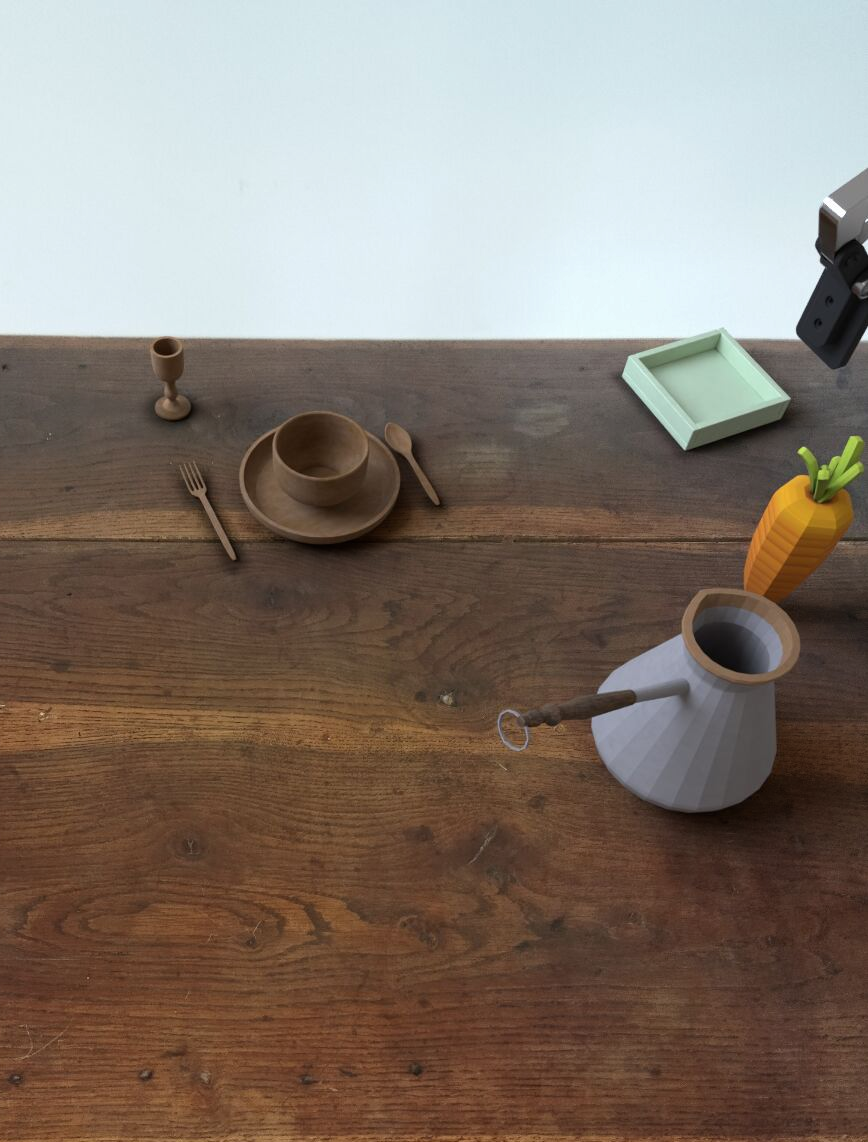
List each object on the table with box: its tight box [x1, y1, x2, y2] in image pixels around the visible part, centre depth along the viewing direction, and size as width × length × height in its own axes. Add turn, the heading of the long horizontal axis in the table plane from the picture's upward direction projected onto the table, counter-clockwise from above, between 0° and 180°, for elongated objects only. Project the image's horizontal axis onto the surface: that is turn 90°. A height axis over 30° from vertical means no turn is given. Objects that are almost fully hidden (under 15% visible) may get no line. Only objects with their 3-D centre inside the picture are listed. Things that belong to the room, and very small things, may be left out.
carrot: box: [743, 435, 866, 604], centre depth 69 cm, size 5×5×15 cm
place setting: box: [149, 335, 440, 561], centre depth 80 cm, size 18×20×6 cm
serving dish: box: [621, 327, 792, 452], centre depth 86 cm, size 9×9×2 cm
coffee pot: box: [497, 587, 801, 814], centre depth 62 cm, size 21×12×15 cm, turn 118°
